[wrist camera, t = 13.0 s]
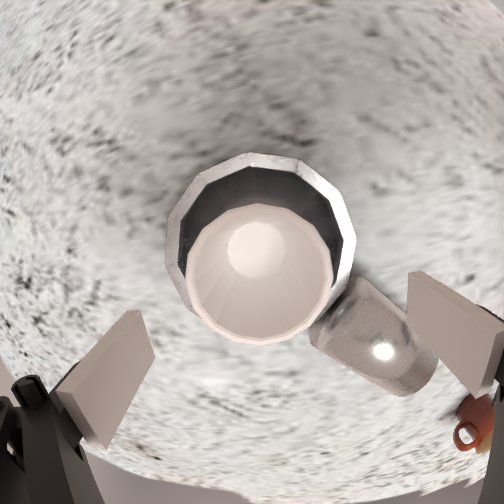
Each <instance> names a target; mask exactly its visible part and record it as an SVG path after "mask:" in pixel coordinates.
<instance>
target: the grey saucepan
mask: <svg viewBox="0 0 504 504" xmlns="http://www.w3.org/2000/svg"><path fill="white" fill-rule="evenodd" d="M198 174H199V175H196V177H195V178H194V179H193V181H192V182H191V184H190V185H189V186H188V188H187V189H186V191H185V192H184V194H183V195H182V197H181V198H180V199H179V201H178V202H177V204H176V205H175V207H174V208H173V210H172V211H171V213H170V214H169V217H168V224H167V239H166V259H165V265H166V269H167V271H168V273H169V275H170V277H171V279H172V281H173V283H174V285H175V287H176V289H177V290H178V292H179V294H180V296H181V298H182V300H183V302H184V304H185V306H186V308H188V310H190V311H191V312H193V313H194V314H195V315H197V316H198V317H200V316H199V315H198V314H197V312H196V311H195V310H194V309H193V307H192V303H191V300H190V297H189V294H188V291H187V288H186V284H185V276H186V266H187V257H188V253H189V251H190V250H191V248H192V246H193V244H194V243H195V241H196V239H197V237H198V236H199V234H200V232H201V231H202V229H203V228H204V227H206V226H207V225H208V224H210V223H211V222H212V221H214V220H215V219H217V218H218V217H219V216H221V215H222V214H223V213H225V212H226V211H228V210H230V209H235V208H239V207H243V206H247V205H252V204H256V203H259V204H265V205H271V206H276V207H282V208H287V209H289V210H291V211H292V212H294V213H295V214H297V215H298V216H300V217H301V218H303V219H304V220H306V221H307V222H309V223H310V224H312V225H313V226H314V227H315V228H316V230H317V232H318V233H319V235H320V236H321V238H322V239H323V241H324V242H325V244H326V245H327V247H328V249H329V251H330V257H331V263H332V270H333V277H334V278H333V282H332V286H331V290H330V294H329V297H328V301H327V304H326V306H325V307H324V308H323V310H322V311H321V312H320V314H319V315H318V316H317V318H316V319H315V320H314V322H313V323H312V324H311V326H310V331H309V340H310V343H311V344H312V346H314V347H315V348H317V349H318V350H320V351H321V352H323V353H325V354H326V355H328V356H329V357H331V358H333V359H334V360H336V361H337V362H339V363H341V364H342V365H344V366H346V367H347V368H349V369H351V370H352V371H354V372H355V373H357V374H359V375H360V376H362V377H364V378H365V379H367V380H369V381H371V382H372V383H374V384H376V385H377V386H379V387H381V388H382V389H384V390H386V391H388V392H389V393H391V394H393V395H395V396H399V397H404V396H408V395H411V394H414V393H415V392H417V391H419V390H420V389H421V388H423V387H424V386H425V385H426V384H427V382H428V381H429V380H430V379H431V377H432V376H433V374H434V372H435V370H436V367H437V364H438V360H439V357H438V356H437V355H436V354H435V353H434V352H433V351H432V350H431V349H430V348H429V347H428V346H427V345H426V344H425V342H424V341H423V340H422V339H421V338H420V337H419V336H418V335H417V334H416V333H415V332H414V331H413V330H412V329H411V328H410V327H409V326H408V325H407V324H406V314H405V313H404V312H403V311H402V310H400V309H399V308H398V307H397V306H396V305H395V304H394V303H392V302H391V301H390V300H389V299H388V298H387V297H386V296H384V295H383V294H382V293H381V292H380V291H379V290H377V289H376V288H375V287H374V286H373V285H372V284H370V283H369V282H368V281H367V280H366V279H364V278H363V277H361V276H354V277H350V278H349V275H350V270H351V265H352V260H353V255H354V250H355V245H356V240H355V239H356V236H355V233H354V230H353V227H352V224H351V221H350V218H349V216H348V213H347V210H346V207H345V204H344V202H343V199H342V196H341V194H340V193H339V191H338V190H337V189H336V188H335V187H333V186H332V185H331V184H330V183H329V182H327V181H326V180H325V179H324V178H323V177H321V176H320V175H319V174H318V173H316V172H315V171H314V170H313V169H311V168H310V167H309V166H308V165H306V164H305V163H304V162H303V161H301V160H299V159H295V158H288V157H284V156H279V155H274V154H261V153H250V152H247V154H246V153H243V154H241V155H238V156H236V157H233V158H230V159H227V160H225V161H222V162H220V163H218V164H216V165H214V166H213V167H211V168H209V169H207V170H205V171H202V172H200V173H198ZM200 318H201V317H200ZM201 319H202V318H201Z"/></svg>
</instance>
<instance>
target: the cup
mask: <svg viewBox="0 0 504 504" xmlns="http://www.w3.org/2000/svg"><path fill="white" fill-rule="evenodd" d="M333 278H334V277H333V270H332V263H331V257H330V251H329V249H328V247H327V245H326V244H325V242H324V241H323V239H322V238H321V236H320V235H319V233H318V232H317V230H316V228H315V227H314V226H313V225H312V224H310V223H309V222H307V221H306V220H304V219H303V218H301V217H300V216H298V215H297V214H295V213H294V212H292V211H291V210H289V209H287V208H282V207H276V206H271V205H265V204H259V203H256V204H252V205H247V206H243V207H239V208H235V209H230V210H228V211H226V212H225V213H223V214H222V215H221V216H219V217H218V218H217V219H215V220H214V221H212V222H211V223H210V224H208V225H207V226H206V227H204V228H203V229H202V231H201V232H200V234H199V236H198V237H197V239H196V241H195V243H194V244H193V246H192V248H191V250H190V251H189V253H188V257H187V266H186V276H185V284H186V288H187V291H188V294H189V297H190V300H191V303H192V307H193V309H194V310H195V311H196V312H197V314H198V315H199V316H200V317H201V318H202V320H203V321H204V322H205V323H206V324H207V325H208V327H209V328H210V329H211V330H213V331H215V332H217V333H219V334H221V335H222V336H224V337H226V338H228V339H230V340H232V341H234V342H239V343H245V344H253V345H260V346H262V345H267V344H272V343H276V342H281V341H285V340H288V339H290V338H292V337H293V336H295V335H297V334H298V333H300V332H301V331H303V330H304V329H306V328H308V327H309V326H311V324H312V323H313V322H314V320H315V319H316V318H317V316H318V315H319V314H320V312H321V311H322V310H323V308H324V307H325V306H326V304H327V301H328V297H329V294H330V290H331V286H332V282H333Z"/></svg>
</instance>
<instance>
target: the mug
mask: <svg viewBox="0 0 504 504" xmlns="http://www.w3.org/2000/svg"><path fill="white" fill-rule="evenodd" d="M492 401H493V398H492V397H491V396H490V394H488V393H486V394H484V395H482V396H481V397H479V398H477V399H475V398H474V396H473V395H472V394H471V395H470V396H468V397H467V398H466V399H465V400H464V402H463V403H462V404H461V406H460V408H459V410H458V413H457V417H458V420H459V421H460V423H459V424H458V425H457V426H456V428H455V430H454V433H453V440H454V443H455V445H456V447H457V448H458V449H459V450H460V451H468V450H470V449H472V448H474V447H475V449H476V452H477V453H478V454H480V453H483V452H485V451H487V450H488V449H490V448H491V444H492V437H493V429H494V421H495V410H496V402H495V403H494V405H493V407H492V406H491V403H492ZM462 428H464V429H465V430H466V431H467V433H468V434H469V435H470V436H471V437H472V439H473V442H471V443H470V444H464V443H463V442H462V441H461V439H460V437H459V433H458V432H459V430H461V429H462Z"/></svg>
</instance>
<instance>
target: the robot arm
mask: <svg viewBox="0 0 504 504" xmlns="http://www.w3.org/2000/svg"><path fill="white" fill-rule="evenodd" d="M406 324H407V325H408V326H409V327H410V328H411V329H412V330H413V331H414V332H415V333H416V334H417V335H418V336H419V337H420V338H421V339H422V340H423V341H424V342H425V344H426V345H427V346H428V347H429V348H430V349H431V350H432V351H433V352H434V353H435V354H436V355H437V356H438V357H439V358H440V360H441V361H442V362H443V363H444V364H445V365H446V366H447V367H448V368H449V369H450V370H451V372H452V373H453V374H454V375H455V376H456V377H457V378H458V379H459V380H460V382H461V383H462V384H463V385H464V386H465V387H466V388H467V390H468V391H469V392H470V393H471V394H472V395H473V396H474V398H475V399H477V398H479V397H481V396H482V395H484V394H486V393H488V392H490V390H491V387H492V384H493V382H494V379H496V380H497V381H498V382H499V386H498V388H497V391H496V393H495V396H494V398H493V401H492V403H491V406H492V407H493V405H494V403H495V402H496V410H495V421H494V429H493V437H492V444H491V450H490V456H489V461H488V466H487V470H486V475H485V479H484V483H483V487H482V491H481V494H480V498H479V502H478V504H504V320H503V319H501V318H500V317H498V316H497V315H495V314H494V313H492V312H491V311H489V310H488V309H486V308H485V307H482V306H479V305H476V304H474V303H473V302H471V301H470V300H468V299H466V298H465V297H463V296H462V295H460V294H459V293H457V292H455V291H454V290H452V289H451V288H449V287H447V286H446V285H444V284H442V283H441V282H439V281H437V280H436V279H434V278H432V277H431V276H429V275H427V274H426V273H424V272H422V271H416V272H411V273H408V294H407V311H406ZM154 359H155V355H154V352H153V349H152V346H151V343H150V340H149V337H148V334H147V331H146V328H145V324H144V321H143V318H142V314H141V311H140V310H132V311H126V312H125V314H124V315H123V316H122V317H121V318H120V319H119V320H118V321H117V322H116V323H115V324H114V325H113V326H112V327H111V328H110V329H109V331H108V332H107V333H106V334H105V335H104V336H103V337H102V338H101V339H100V340H99V341H98V343H97V344H96V345H95V346H94V347H93V348H92V349H91V350H90V351H89V352H88V354H87V355H86V356H85V357H84V358H83V359H82V360H80V361H79V362H77V363H76V364H74V366H73V367H72V368H71V369H70V370H69V371H68V372H69V373H66V375H65V376H64V378H62V379H61V380H60V381H59V382H58V384H57V385H56V386H55V387H54V388H53V389H52V391H51V392H50V393H49V394H48V392H47V390H46V389H45V387H44V385H43V383H42V381H41V379H40V377H39V376H37V375H28V376H24V377H22V378H20V379H19V380H17V381H16V382H15V383H14V384H13V385H12V388H11V390H12V392H13V394H14V395H15V397H16V399H17V400H18V402H19V404H20V406H21V407H14V406H13V404H12V403H11V401H10V399H9V398H8V397H6V396H1V397H0V504H105V503H104V501H103V498H102V496H101V494H100V492H99V489H98V487H97V484H96V482H95V480H94V477H93V474H92V472H91V469H90V466H89V464H88V461H87V458H86V455H85V452H84V449H83V448H82V446H81V445H80V443H79V442H80V440H81V439H82V437H84V439H85V440H86V442H87V443H88V444H89V446H90V447H93V448H98V449H103V450H107V448H108V446H109V444H110V442H111V440H112V438H113V436H114V434H115V432H116V430H117V428H118V426H119V425H120V423H121V421H122V419H123V417H124V415H125V413H126V411H127V409H128V407H129V405H130V403H131V401H132V400H133V398H134V396H135V394H136V392H137V390H138V388H139V386H140V384H141V383H142V381H143V379H144V377H145V375H146V373H147V371H148V370H149V368H150V366H151V364H152V362H153V360H154ZM7 443H8V444H9V445H10V447H11V448H12V449H13V454H10V452H9V451H8V450H7Z"/></svg>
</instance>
